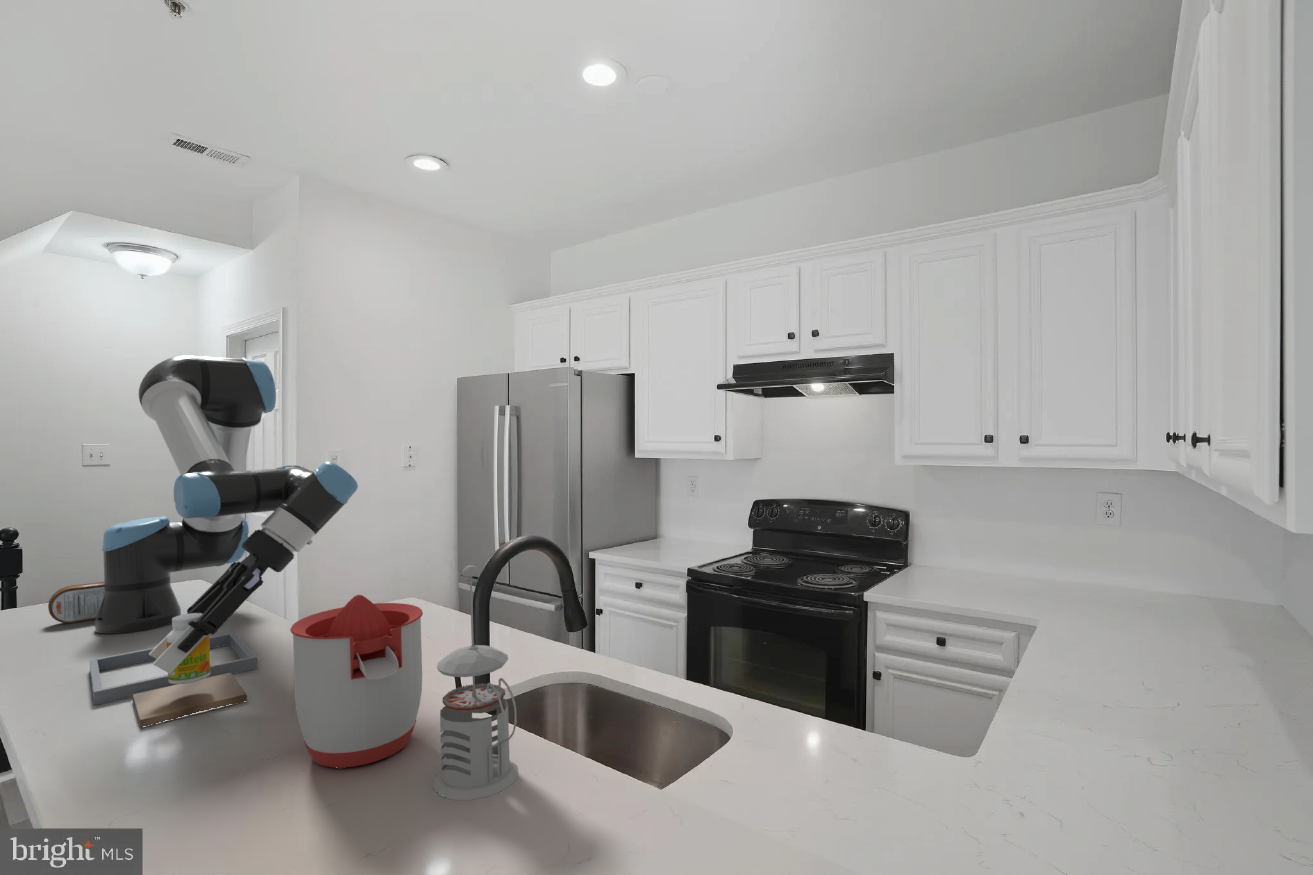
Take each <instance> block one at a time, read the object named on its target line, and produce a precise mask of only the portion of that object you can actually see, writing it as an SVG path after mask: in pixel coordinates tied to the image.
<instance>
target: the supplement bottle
mask: <svg viewBox="0 0 1313 875" xmlns="http://www.w3.org/2000/svg"><path fill="white" fill-rule="evenodd" d="M201 616H202V613H190V614H187V613H185V614H181V615H179V616H176V617H174V618H172V623H171V626H172V627H171V628H172V629H174V631H173V632H171V631H170V632H171V633H170V632H169V633H170V634H169V633H168V634H169V635H168V634H167V635H168V637H167V648H168V647H169V646H170V645H171V644H172V643H173V642H174V641H175V640H176V639H177V638H178V637H179V636H180V635H181V634H182V633H183V632H184V631H185V630H186V629H187V628H188V627H189V626H190V625H188V623H189V622H190V621H194V622H196V621H197V620H198V619H199V618H200V617H201ZM210 637H211V636H210V634H209V635H208V636H206V637H205V638H204V639H203V640H202V641H201V642H200V643H199V644H198V645H197V646H196V647H195V648H194V649H193V650H192V651H191V652H190V653H189V654H188V656H187V657H186V658H185V659H184V660H183V661H182V662H181V663H180V664H179V665H178V666H177V667H176V668H175V669H174V670H173V671H172V672H171V673H170V674H169V673H167V675H168V681H169V683H171V684H187V683H192V682H196V681H199V680H202V679H204V678H206V677H208V676H209V675H210V665H211V648H210Z"/></svg>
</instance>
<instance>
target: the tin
mask: <svg viewBox="0 0 1313 875" xmlns="http://www.w3.org/2000/svg"><path fill="white" fill-rule="evenodd" d="M104 594H105V584H104V581H98V582H92V583H81V584H72V585H67V586H64V587H62V588H60V589H58V590H57V591H55V592H54V593H53V595H52V596H51V597H50V598H49V601H48V604H47V607H48V613H49V614H50V617H52V619H54V621H57V622H58V623H61V624H62V623H63V624H75V623H82V622H87V621H95V620H96V617H97V614H98V611H99V609H100V606H101V603H102V600H103V598H104Z"/></svg>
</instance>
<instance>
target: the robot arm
mask: <svg viewBox="0 0 1313 875" xmlns="http://www.w3.org/2000/svg"><path fill="white" fill-rule="evenodd" d="M138 401H139V403H140V406H141V408H142V411H143V412H144V414H145V415H146V416H147V417H149V418H150V419H151V420H153V421H155V423H156V425H157V427H158V429H159V431H160V433H161V435H162V439H163V440H164V442H165V444H166V447H167V449H168V451H169V453H170V455H171V457H172V460H173V461H174V464H175V465H176V467H177V468H176V469H177V470H178V473H179V474H180V475H177V476H178V477H176V480H175V481H174V484H173V485H174V486H173V501H174V505H175V506H174V507H175V509H176V512H177V514H178V516H180V517H182V520H176V521H170V519H169V517H168V516H167V515H166V516H165V515H163V516H159V515H158V516H153V517H144V518H140V519H138V518H137V519H133V520H129V521H128V520H127V521H124V522H121V523H116V524H114V525H112V526H110V527H108V528H106V530H105V531H104V533H103V542H102V548H101V549H102V550H101V551H102V553H103V574H104V576H103V578H104V579H103V582H104V584H105V594H104V598H103V600H102V603H101V606H100V609H99V611H98V614H97V617H96V620H94V632H96V633H99V634H124V633H134V632H138V631H145V630H151V629H155V628H159V627H160V628H161V627H163V626H166V625H169V624H172V618H174V617H176V616H179V615H182V608H181V606H180V604H179V601H178V598H177V596H176V595H175V592H174V590H173V588H172V585H171V573H176V572H183V571H191V570H197V569H204V568H210V567H211V568H212V567H221V566H225V565H229V564H230V566H229V567H228V568H227V569H226V570H225V572H224V573H223V574H222V575H221V576H220V577H218V578H217V579H216V581H215V582H214V583H213V584H211V586H210V587H208V589H207V590H205V592H204V593H202V594H201V596H200V597H199V598H197V600H196V601H194V603H192V604H191V605H190V606H189V607H188V608H187V610H186V614H190V613H202V616H201V617H200V618H199V619H198V620H197V621H196V622H194V621H190V622H189V623H188V625H190V626H189V627H188V628H187V629H186V630H185V631H184V632H183V633H182V634H181V635H180V636H179V637H178V638H177V639H176V640H175V641H174V642H173V643H172V644H171V645H170V646H169V647H168V648H167V637H168V635H169V634H170V633H171V632H173V631H174V628H172V629H171V631H170V632H169V633H168V634H167V635H166V636H165V637H164V638H163V639H161V641H159V642H158V644H157V645H156V646H155V647H153V648H154V649H153V650H152V651H151V652H150V653H149V655H150V656H152V657H154V658H156V659H155V660H154V661H153V663H152V665H153V666H155V667H156V668H159V669H160V670H163V671H164V672H166V673H167V674H168V673H169V674H170V673H171V672H172V671H173V670H174V669H175V668H176V667H177V666H178V665H179V664H180V663H181V662H182V661H183V660H184V659H185V658H186V657H187V656H188V654H189V653H190V652H191V651H192V650H193V649H194V648H195V647H196V646H197V645H198V644H199V643H200V642H201V641H202V640H203V639H204V638H205V637H206V636H208V635H209V636H210V635H211V636H212V635H214V634H216V633H217V632H218V630H219V629H220V628H221V627H222V626H224V624H225V622H227V621H228V620H229V618H230V617H231V616H233V614H234V613H235V612H236V611H237V610H238V609H240V608H239V607H241V605H243V603H245V601H246V600H247V599H248V598H249V597H250V596H251V595H252V594H253V593H255V591H256V590H257V589H259V588H260V587H262V585H263V583H264V580H263V577H262V576H264V574H265V573H266V571H267V570H268V569H269V568H270V570H272V571H274V572H276V573H281V572H282V571H283V570H284V569H285V568H286V567H287V566H288V565H289V564H290V563H291V562H292V561H293V560H294V559H295V554H294V553H295V552H296V553H299V552H300V551H301V550H302V549H303V548H304V547H305V546H307V545H309V546H310V545H311V544H312V543H313V540H312V539H313V538H314V536H316V535H317V534H318V533H319V532H320V530H322V529H323V527H324V526H325V525H326V524H327V523H328V522H330V520H331V519H332V518H333V517H334V516H335V515H336V514H337V513H338V512H339V511H340V510H341V509H342V508H343V507H344V506H345V505H346V504H348V502H349V500H350V499H351V497H353V495H354V494H355V493H356V492H357V490H358V487H359V485H358V482H357V480H356V479H355V478H354V476H352V475H351V474H350V473H349V472H348V471H347V470H345V469H344V468H343V467H341V466H340V465H339V464H337V463H335V462H333V461H325V462H323V463H321V465H319V466H318V467H315V469H314V471H313V470H309V469H308V468H305V467H304V466H300V465H292V464H291V465H290V464H287V465H286V464H285V465H281V466H278V467H276V468H267V469H251V470H249V469H248V470H244V469H245V465H246V459H247V454H248V448H249V443H250V439H251V438H250V437H251V432H252V428H254V427H256V426H258V425H260V423H261V422H262V416H263V413H264V414H268V413H272V411H274V409H275V407H276V403H277V392H276V384H275V380H274V377H273V373H272V371H271V369H270V367H269V366H268V365H267V364H266V363H265V362H264V361H261V360H259V359H258V360H255V359H247V358H245V357H242V358H235V357H234V358H233V357H232V358H230V357H215V356H213V357H212V356H199V355H198V356H196V355H188V354H187V355H186V354H185V355H177V356H173V357H170V358H167V359H164V360H163V361H161V362H159V363H157V364H155V365H154V366H153V367H151V368H150V369H149V370H148V371H147V373H146V374H145V375H144V377H143V378H142V380H141V382H140V385H139V388H138ZM263 512H264V513H265V512H272V513H271V514H270V515H269V516H268V517H267V518H266V519H265V520H264V521H263V522H262V523H261V524H260V525H261V529H255V530H254V531H253V532H252V533H251V534H250V535H249V533H250V532H249V531H250V530H249V524H248V521H247V520H246V518H245V517H244V516H242V515H244V514H251V513H252V514H253V513H255V514H256V513H263ZM248 535H249V536H248ZM246 552H247V553H248V554H249V555H248V556H246V557H245V558H244V559H243V560H241V561H240V559H242V558H243V556H244V555H245V553H246Z"/></svg>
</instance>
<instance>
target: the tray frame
mask: <svg viewBox="0 0 1313 875" xmlns="http://www.w3.org/2000/svg"><path fill="white" fill-rule="evenodd" d="M209 637H210V649H214V648H213V647H215V648H219V647H218V646H220V647H224V646H223V645H225V646H230V648H232V649H233V651H234V652H235V653H236V654H237V656H238V657H239V658H240V659H239V658H238V659H235V660H230V661H226V662H225V661H224V662H220V663H216V664H210V675H209V676H208V677H206V678H209V677H213V676H217V675H222V674H226V673H231V674H232V675H234V674H239V673H242V672H246V670H248V671H251V669H252V670H256V669H258V657H257V655H256V654H255V653H254V651H252V650H251V649H250V648H249V647H248V645H246V643H244V642H243V640H242V639H241V638H240V636H238V635H237V634H236V633H235V632H229V633H224V634H219V635H214V636H209ZM154 648H155V647H149V648H145V649H141V650H134V651H129V652H125V653H119V654H114V655H109V656H108V655H107V656H103V657H97V658H93V659H89V674H90V681H91V691H92V696H93V697H92V698H93V705H94V706H97V705H100V704H101V705H102V704H105V703H111V702H113V701H119V700H123V699H128V698H133V694H137V693H142V692H146V691H151V690H155V689H159V688H164V687H168V686H173V685H177V684H171V683H169V681H168V674H165V675H160V676H156V677H155V676H154V677H150V678H146V679H141V680H136V681H133V682H132V681H131V682H127V683H123V684H117V685H112V686H108V687H104V688H103V687H102V680H101V674H100V671H105V670H109V669H115V668H121V667H124V665H125V666H130V665H134V663H135V664H140V663H144V662H149V661H156V658H154V657H152V656H150V655H149V653H150V652H151V651H152V650H153V649H154ZM114 667H115V668H114ZM238 672H239V673H238Z"/></svg>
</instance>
